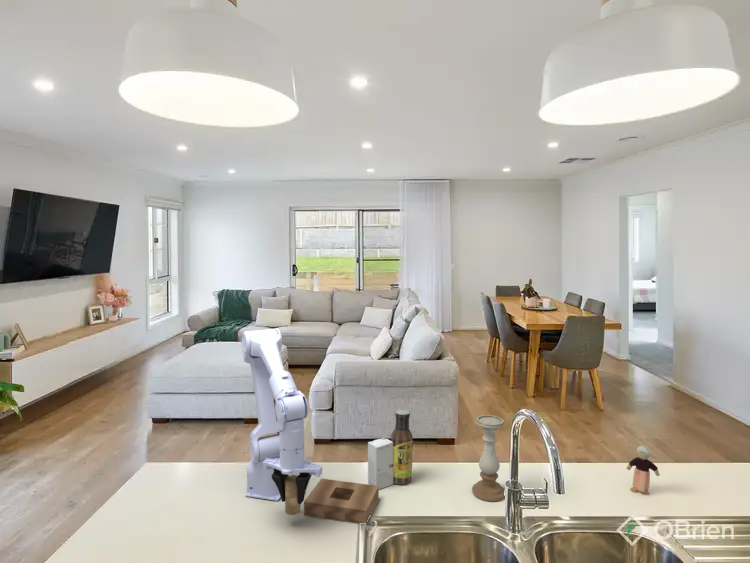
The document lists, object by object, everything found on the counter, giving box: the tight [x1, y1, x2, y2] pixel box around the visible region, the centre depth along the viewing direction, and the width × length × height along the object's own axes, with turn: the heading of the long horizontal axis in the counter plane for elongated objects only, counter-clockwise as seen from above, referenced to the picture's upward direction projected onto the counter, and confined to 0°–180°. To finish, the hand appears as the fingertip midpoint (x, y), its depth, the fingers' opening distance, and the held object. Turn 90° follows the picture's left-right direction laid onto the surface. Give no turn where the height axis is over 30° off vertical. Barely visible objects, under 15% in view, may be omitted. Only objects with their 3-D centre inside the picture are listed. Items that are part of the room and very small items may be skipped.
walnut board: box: [303, 477, 380, 525], centre depth 122 cm, size 16×12×4 cm
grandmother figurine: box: [626, 445, 661, 496], centre depth 128 cm, size 8×4×13 cm, turn 68°
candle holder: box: [471, 414, 506, 502], centre depth 127 cm, size 9×9×20 cm
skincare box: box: [367, 437, 394, 490], centre depth 133 cm, size 6×4×12 cm
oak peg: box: [284, 474, 302, 516], centre depth 114 cm, size 4×4×8 cm
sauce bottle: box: [390, 409, 414, 485], centre depth 134 cm, size 6×6×20 cm
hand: (292, 500), depth 114 cm, fingers closed on oak peg, 4 cm apart
